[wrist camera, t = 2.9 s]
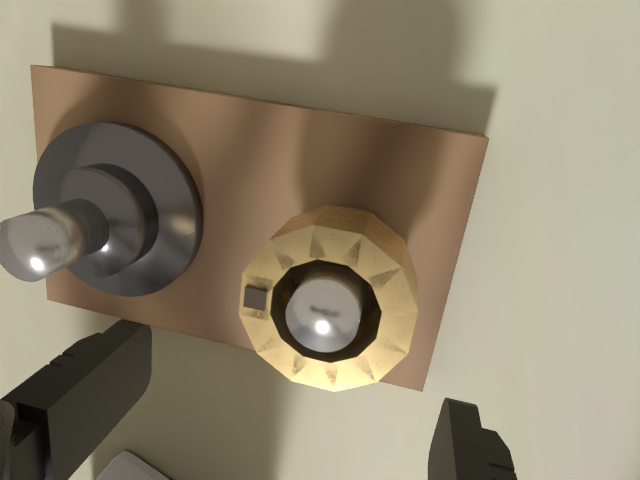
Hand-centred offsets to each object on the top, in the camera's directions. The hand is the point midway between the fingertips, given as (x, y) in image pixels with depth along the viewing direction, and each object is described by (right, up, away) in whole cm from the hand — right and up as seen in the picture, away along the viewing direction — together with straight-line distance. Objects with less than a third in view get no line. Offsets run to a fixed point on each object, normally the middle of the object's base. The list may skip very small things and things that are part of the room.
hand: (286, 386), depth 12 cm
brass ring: (+2, +2, +7) cm, 8 cm away
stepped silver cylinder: (+2, +3, +10) cm, 11 cm away
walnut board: (-3, +5, +12) cm, 13 cm away
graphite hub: (-9, +5, +12) cm, 16 cm away
